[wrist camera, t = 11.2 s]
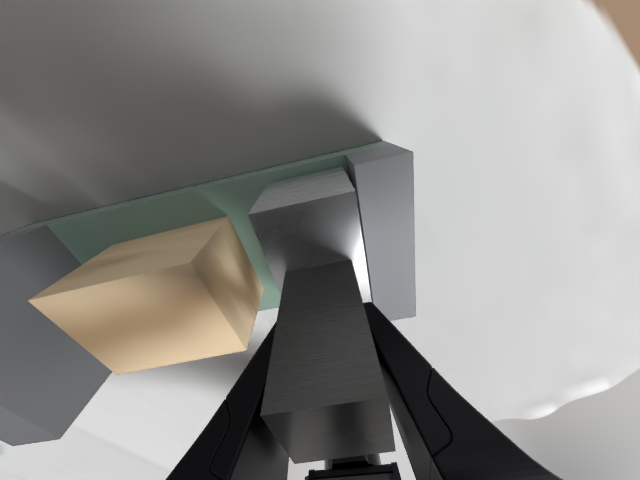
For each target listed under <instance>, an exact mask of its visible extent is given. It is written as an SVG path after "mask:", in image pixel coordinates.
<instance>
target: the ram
mask: <svg viewBox="0 0 640 480" xmlns="http://www.w3.org/2000/svg"><path fill="white" fill-rule="evenodd" d="M248 216H249V219H250V221H251V224H252V226H253V229H254V231H255V234H256V236H257V239H258V241H259V244H260V246H261V248H262V251H263V253H264V256H265V258H266V261H267V263H268V266H269V268H270V271H271V273H272V275H273V278H274V280H275V283H276V285H277V288H278V290H279V293H280V295H281V299H280V305H279V311H278V317H277V322H276V328H275V334H274V340H273V345H272V351H271V357H270V363H269V368H268V374H267V380H266V386H265V391H264V397H263V403H262V409H261V414H260V416H261V417H262V419H263V420H264V422H265V423H266V424H267V426H268V427H269V429H270V430H271V431H272V433H273V434H274V436H275V437H276V438H277V440H278V441H279V443H280V444H281V445H282V447H283V448H284V450H285V451H286V452H287V454H288V455H289V457H290V458H291V459H292V461H293V462H294V463H295V464H297V463H305V462H313V461H320V460H329V459H337V458H345V457H353V456H361V455H369V454H377V453H384V452H393V451H395V444H394V436H393V429H392V421H391V414H390V406H389V399H388V394H387V391H386V387H385V383H384V379H383V376H382V372H381V368H380V364H379V361H378V357H377V353H376V349H375V346H374V342H373V338H372V334H371V331H370V327H369V323H368V319H367V316H366V312H365V308H364V304H363V303H364V302H369V301H371V302H372V300H371V293H370V286H369V280H368V273H367V266H366V259H365V252H364V245H363V238H362V232H361V225H360V218H359V211H358V204H357V197H356V191H355V189H354V187H353V185H352V183H351V182H350V180H349V178H348V176H347V174H346V173H345V171H344V169H343V167H342V166H340V167H336V168H332V169H327V170H323V171H319V172H314V173H310V174H306V175H301V176H297V177H293V178H288V179H284V180H280V181H275V182H271V183H268V184H267V185H266V187H265V188H264V190H263V192H262V193H261V195H260V196H259V198H258V199H257V201H256V202H255V204H254V205H253V207H252V209H251V210H250V212H249V213H248Z"/></svg>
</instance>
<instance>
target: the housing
mask: <svg viewBox="0 0 640 480" xmlns="http://www.w3.org/2000/svg"><path fill="white" fill-rule="evenodd" d="M263 290H264V288H263V286H262V284H261V282H260V280H259V278H258V276H257V273H256V271H255V269H254V267H253V265H252V263H251V261H250V259H249V257H248V255H247V253H246V251H245V249H244V247H243V245H242V242H241V240H240V238H239V236H238V234H237V232H236V230H235V228H234V226H233V224H232V222H231V220H230V218H229V216H226V217H222V218H218V219H214V220H210V221H206V222H202V223H198V224H194V225H190V226H186V227H182V228H178V229H174V230H170V231H166V232H162V233H158V234H154V235H150V236H146V237H142V238H138V239H134V240H130V241H126V242H122V243H118V244H114V245H112V246H110V247H109V248H107V249H106V250H104V251H103V252H101V253H100V254H98V255H97V256H95V257H93V258H92V259H90V260H89V261H87V262H86V263H84V264H83V265H81V266H80V267H78V268H77V269H75V270H74V271H72V272H71V273H69V274H68V275H66V276H64V277H63V278H61V279H60V280H58V281H57V282H55V283H54V284H52V285H51V286H49V287H48V288H46V289H45V290H43V291H42V292H40V293H38V294H37V295H35V296H34V297H32V298H31V299H29V300H28V301H29V302H30V303H31V304H32V305H33V306H34V307H36V308H37V309H38V310H39V311H40V312H42V313H43V314H44V315H45V316H46V317H48V318H49V319H50V320H51V321H52V322H54V323H55V324H56V325H57V326H58V327H60V328H61V329H62V330H63V331H64V332H66V333H67V334H68V335H69V336H70V337H72V338H73V339H74V340H75V341H76V342H78V343H79V344H80V345H81V346H82V347H84V348H85V349H86V350H87V351H88V352H90V353H91V354H92V355H93V356H94V357H96V358H97V359H98V360H99V361H100V362H101V363H103V364H104V365H105V366H106V367H107V368H109V369H110V370H111V371H112V372H113V373H115V374H116V375H120V374H125V373H130V372H135V371H141V370H146V369H151V368H156V367H162V366H167V365H172V364H177V363H183V362H188V361H193V360H199V359H204V358H209V357H214V356H220V355H225V354H230V353H235V352H241V351H246V350H247V347H248V343H249V340H250V336H251V333H252V329H253V326H254V322H255V318H256V315H257V311H258V308H259V304H260V301H261V297H262V293H263Z"/></svg>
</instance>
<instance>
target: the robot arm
mask: <svg viewBox="0 0 640 480" xmlns="http://www.w3.org/2000/svg"><path fill="white" fill-rule="evenodd" d="M363 304H364V308H365V312H366V316H367V319H368V323H369V327H370V331H371V334H372V338H373V342H374V346H375V349H376V353H377V357H378V361H379V364H380V368H381V372H382V376H383V379H384V383H385V387H386V391H387V394H388V399H389V405H390V407H391V410H392V413H393V416H394V419H395V421H396V424H397V427H398V430H399V433H400V435H401V438H402V441H403V444H404V447H405V449H406V452H407V455H408V458H409V461H410V463H411V466H412V469H413V472H414V475H415V477H416V480H563V479H561V478H559V477H558V476H556V475H555V474H553V473H552V472H550V471H549V470H547V469H546V468H544V467H542V466H541V465H540V464H539V463H537V462H536V461H534V460H533V459H532V458H531V457H529V456H528V455H527V454H526V453H525V452H524V451H522V450H521V449H520V448H519V447H518V446H517V445H516V444H515V443H513V442H512V441H511V440H510V439H509V438H508V437H507V436H505V435H504V434H503V433H502V432H501V431H500V430H499V429H498V428H497V427H495V426H494V425H493V424H492V423H491V422H490V421H489V420H487V419H486V418H485V417H484V416H483V415H482V414H481V413H480V412H478V411H477V410H476V409H475V408H474V407H473V406H472V405H471V404H470V403H469V402H467V401H466V400H465V399H464V398H463V397H462V396H461V395H460V394H459V393H458V392H457V391H456V390H455V389H454V388H453V387H452V386H451V385H450V384H449V383H448V382H447V381H446V380H445V379H444V378H443V377H442V376H441V375H440V374H439V373H438V372H437V371H436V370H435V369H434V368H432V366H431V365H430V363H429V362H428V361H427V360H426V359H425V358H424V357H423V356H422V355H421V354H420V353H419V352H418V351H417V350H416V349H415V347H414V346H413V345H412V344H411V343H410V342H409V341H408V340H407V339H406V338H405V337H404V336H403V335H402V334H401V332H400V331H399V330H398V329H397V328H396V327H395V326H394V325H393V324H392V323H391V322H390V321H389V320H388V319H387V318H386V316H385V315H384V314H383V313H382V312H381V311H380V310H379V309H378V308H377V307H376V306H375V305H374V304H373V303H372V302H371V301H369V302H364V303H363ZM276 322H277V321H276ZM275 328H276V323H275V324H274V326H273V327H272V329H271V330H270V332H269V333H268V335H267V336H266V338H265V339H264V341H263V342H262V344H261V345H260V347H259V348H258V350H257V351H256V353H255V354H254V356H253V357H252V359H251V360H250V362H249V363H248V365H247V366H246V368H245V370H244V371H243V373H242V374H241V376H240V377H239V379H238V380H237V382H236V383H235V385H234V386H233V388H232V389H231V391H230V392H229V394H228V395H227V397H226V399H225V400H224V401H223V402H222V404H221V405H220V407H219V409H218V410H217V411H216V413H215V414H214V416H213V417H212V419H211V420H210V422H209V423H208V424H207V426H206V427H205V429H204V430H203V431H202V433H201V434H200V435H199V437H198V438H197V439H196V441H195V442H194V443H193V445H192V446H191V447H190V449H189V450H188V451H187V453H186V454H185V455H184V456H183V458H182V459H181V460H180V462H179V463H178V464H177V466H176V467H175V468H174V469H173V471H172V472H171V473H170V475H169V476H168V477H167V478H166V480H287V474H288V462H289V455H288V454H287V452H286V451H285V450H284V448H283V447H282V445H281V444H280V443H279V441H278V440H277V438H276V437H275V436H274V434H273V433H272V431H271V430H270V429H269V427H268V426H267V424H266V423H265V422H264V420H263V419H262V417H261V416H260V414H261V409H262V403H263V397H264V391H265V386H266V380H267V374H268V368H269V363H270V357H271V351H272V345H273V340H274V334H275ZM324 461H325V470H316V471H315V470H314V469H313V470H309V475H308V476H306V477H305V480H401V477H400V473H399V470H398V466H397V463H396V462H393V463H391V464H385V465H381V461H380V456H379V453H377V454H369V455H361V456H353V457H345V458H337V459H329V460H324Z"/></svg>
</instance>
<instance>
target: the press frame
mask: <svg viewBox="0 0 640 480" xmlns="http://www.w3.org/2000/svg"><path fill="white" fill-rule="evenodd" d="M340 166H342V167H343V169H344V171H345V173H346V174H347V176H348V178H349V180H350V182H351V183H352V185H353V187H354V189H355V191H356V197H357V204H358V211H359V218H360V225H361V232H362V238H363V245H364V252H365V259H366V266H367V273H368V280H369V286H370V293H371V300H372V303H373V304H374V305H375V306H376V307H377V308H378V309H379V310H380V311H381V312H382V313H383V314H384V315H385V316H386V318H387V319H388V320H389V321H391V320H397V319H403V318H409V317H415V316H416V293H415V232H414V172H413V152H412V151H409V150H407V149H404V148H402V147H399V146H396V145H394V144H391V143H388V142H386V141H381V142H377V143H372V144H368V145H364V146H360V147H355V148H351V149H347V150H343V151H338V152H334V153H330V154H326V155H321V156H317V157H313V158H309V159H305V160H300V161H296V162H292V163H288V164H283V165H279V166H275V167H271V168H266V169H262V170H258V171H254V172H250V173H245V174H241V175H237V176H233V177H228V178H224V179H220V180H216V181H211V182H207V183H203V184H199V185H194V186H190V187H186V188H182V189H178V190H173V191H169V192H165V193H161V194H156V195H152V196H148V197H144V198H139V199H135V200H131V201H127V202H123V203H118V204H114V205H110V206H106V207H101V208H97V209H93V210H89V211H84V212H80V213H76V214H72V215H67V216H63V217H59V218H55V219H51V220H46V221H42V222H38V223H34V224H30V225H27V226H24V227H22V228H19V229H17V230H14V231H12V232H9V233H7V234H4V235H1V236H0V440H1V441H3V442H5V443H7V444H9V445H11V446H16V445H23V444H30V443H37V442H44V441H50V440H57V439H60V438H61V437H62V436H63V434H64V433H65V432H66V431H67V429H68V428H69V427H70V425H71V424H72V423H73V422H74V420H75V419H76V418H77V416H78V415H79V414H80V413H81V411H82V410H83V409H84V407H85V406H86V405H87V404H88V402H89V401H90V400H91V398H92V397H93V396H94V395H95V393H96V392H97V391H98V389H99V388H100V387H101V386H102V384H103V383H104V382H105V380H106V379H107V378H108V377H109V375H110V374H111V373H112V371H111V370H110V369H109V368H107V367H106V366H105V365H104V364H103V363H101V362H100V361H99V360H98V359H97V358H96V357H94V356H93V355H92V354H91V353H90V352H88V351H87V350H86V349H85V348H84V347H82V346H81V345H80V344H79V343H78V342H76V341H75V340H74V339H73V338H72V337H70V336H69V335H68V334H67V333H66V332H64V331H63V330H62V329H61V328H60V327H58V326H57V325H56V324H55V323H54V322H52V321H51V320H50V319H49V318H48V317H46V316H45V315H44V314H43V313H42V312H40V311H39V310H38V309H37V308H36V307H34V306H33V305H32V304H31V303H30V302H29V301H28V300H29V299H31V298H32V297H34V296H35V295H37V294H38V293H40V292H42V291H43V290H45V289H46V288H48V287H49V286H51V285H52V284H54V283H55V282H57V281H58V280H60V279H61V278H63V277H64V276H66V275H68V274H69V273H71V272H72V271H74V270H75V269H77V268H78V267H80V266H81V265H83V264H84V263H86V262H87V261H89V260H90V259H92V258H93V257H95V256H97V255H98V254H100V253H101V252H103V251H104V250H106V249H107V248H109V247H110V246H112V245H114V244H118V243H122V242H126V241H130V240H134V239H138V238H142V237H146V236H150V235H154V234H158V233H162V232H166V231H170V230H174V229H178V228H182V227H186V226H190V225H194V224H198V223H202V222H206V221H210V220H214V219H218V218H222V217H226V216H229V218H230V220H231V222H232V224H233V226H234V228H235V230H236V232H237V234H238V236H239V238H240V240H241V242H242V245H243V247H244V249H245V251H246V253H247V255H248V257H249V259H250V261H251V263H252V265H253V267H254V269H255V271H256V273H257V276H258V278H259V280H260V282H261V284H262V286H263V288H264V290H263V293H262V297H261V301H260V304H259V308H258V311H261V310H267V309H272V308H277V307H279V305H280V299H281V295H280V293H279V290H278V288H277V285H276V283H275V280H274V278H273V275H272V273H271V271H270V268H269V266H268V263H267V261H266V258H265V256H264V253H263V251H262V248H261V246H260V244H259V241H258V239H257V236H256V234H255V231H254V229H253V226H252V224H251V221H250V219H249V216H248V213H249V212H250V210H251V209H252V207H253V205H254V204H255V202H256V201H257V199H258V198H259V196H260V195H261V193H262V192H263V190H264V188H265V187H266V185H267V184H268V183H271V182H275V181H280V180H284V179H288V178H293V177H297V176H301V175H306V174H310V173H314V172H319V171H323V170H327V169H332V168H336V167H340Z"/></svg>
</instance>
